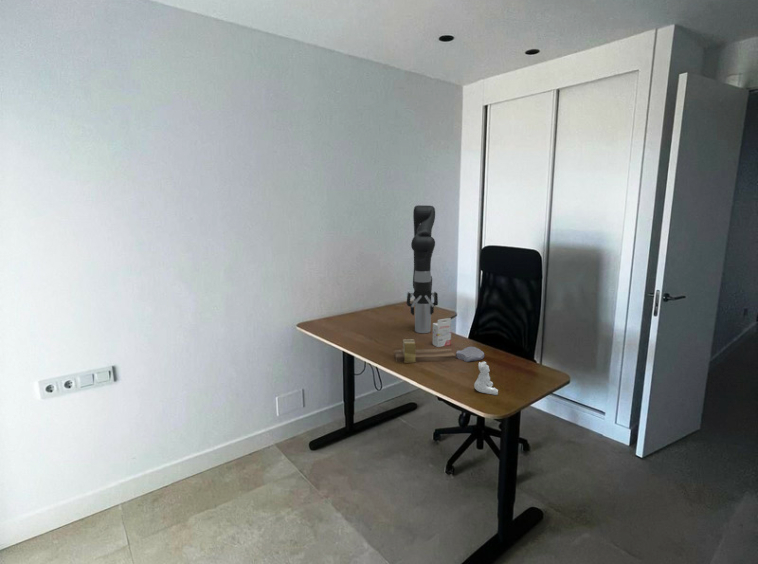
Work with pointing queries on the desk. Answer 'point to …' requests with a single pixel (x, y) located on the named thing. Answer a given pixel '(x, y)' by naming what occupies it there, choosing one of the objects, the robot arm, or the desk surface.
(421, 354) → the board
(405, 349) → the wooden mallet
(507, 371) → the desk surface
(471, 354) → the stone block
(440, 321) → the ink cartridge box
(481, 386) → the seated beast figurine
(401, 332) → the desk surface
